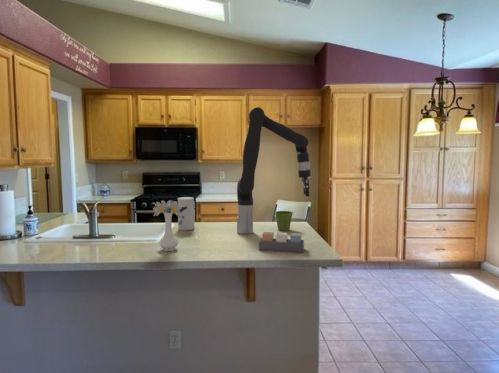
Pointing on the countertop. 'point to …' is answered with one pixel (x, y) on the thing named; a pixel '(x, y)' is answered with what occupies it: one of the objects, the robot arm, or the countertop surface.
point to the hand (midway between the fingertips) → (306, 195)
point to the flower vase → (167, 223)
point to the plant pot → (283, 220)
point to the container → (186, 213)
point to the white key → (281, 237)
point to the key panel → (281, 246)
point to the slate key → (295, 238)
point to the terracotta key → (268, 236)
